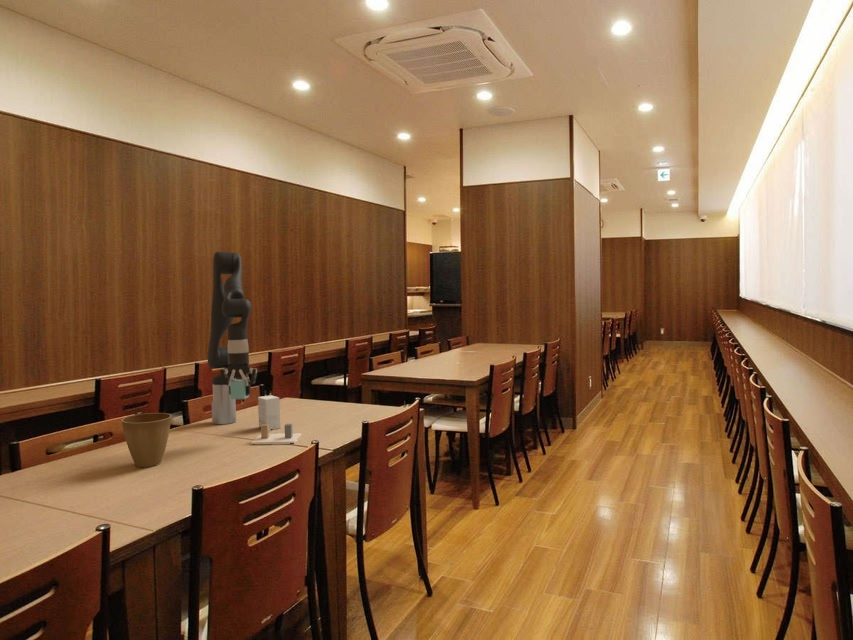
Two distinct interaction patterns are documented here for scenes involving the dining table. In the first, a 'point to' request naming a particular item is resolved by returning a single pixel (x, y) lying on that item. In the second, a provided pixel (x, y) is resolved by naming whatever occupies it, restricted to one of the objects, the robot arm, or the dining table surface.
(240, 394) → the teal block
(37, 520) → the dining table surface
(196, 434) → the dining table surface
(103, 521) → the dining table surface
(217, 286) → the robot arm
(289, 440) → the post board
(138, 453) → the plant pot
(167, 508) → the dining table surface
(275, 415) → the small box
